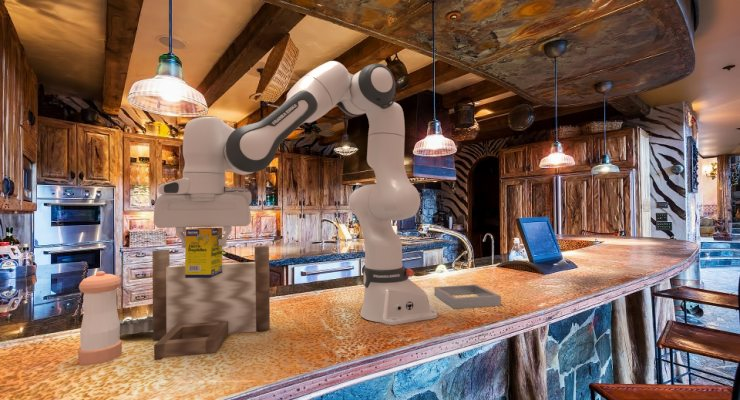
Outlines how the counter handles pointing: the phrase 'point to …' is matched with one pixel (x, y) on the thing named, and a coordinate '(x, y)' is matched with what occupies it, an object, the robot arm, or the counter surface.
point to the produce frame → (481, 300)
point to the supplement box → (203, 252)
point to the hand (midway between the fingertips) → (204, 246)
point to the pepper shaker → (99, 320)
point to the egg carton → (136, 325)
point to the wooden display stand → (207, 304)
